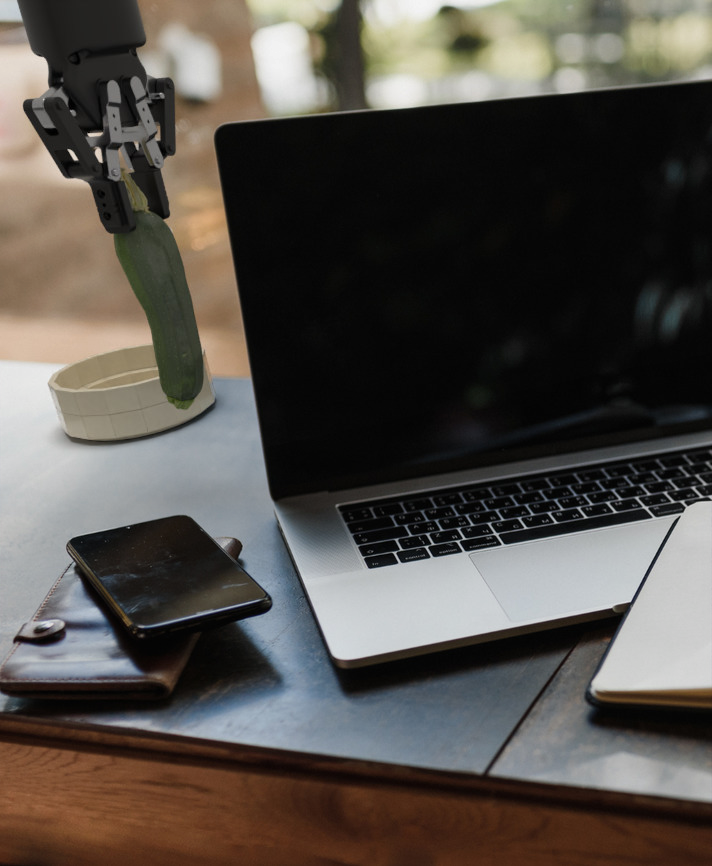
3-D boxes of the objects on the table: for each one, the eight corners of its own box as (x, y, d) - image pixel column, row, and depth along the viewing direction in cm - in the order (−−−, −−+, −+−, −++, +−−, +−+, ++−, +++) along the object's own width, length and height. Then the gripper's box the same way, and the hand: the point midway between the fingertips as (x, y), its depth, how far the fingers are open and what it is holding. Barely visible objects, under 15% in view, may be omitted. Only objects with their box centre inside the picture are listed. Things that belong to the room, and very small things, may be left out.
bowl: (53, 456, 101) (35, 401, 99) (78, 406, 113) (63, 357, 111) (212, 427, 104) (198, 373, 102) (220, 381, 117) (207, 333, 115)
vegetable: (224, 396, 90) (161, 152, 82) (214, 415, 86) (147, 160, 78) (169, 404, 89) (100, 158, 81) (156, 423, 85) (82, 167, 77)
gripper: (94, -18, 82) (154, 208, 89) (-53, -12, 69) (30, 251, 76) (181, -27, 80) (235, 204, 87) (45, -23, 68) (121, 247, 74)
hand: (139, 224), depth 82 cm, fingers closed on vegetable, 3 cm apart
